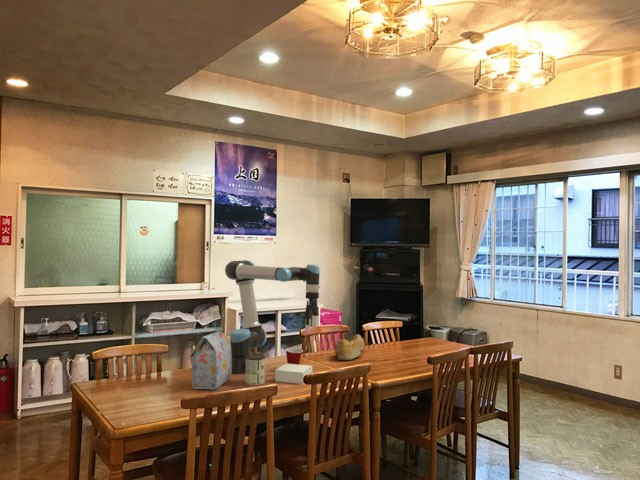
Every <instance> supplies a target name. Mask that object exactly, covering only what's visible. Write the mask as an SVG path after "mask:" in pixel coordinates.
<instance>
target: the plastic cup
mask: <svg viewBox="0 0 640 480" xmlns="http://www.w3.org/2000/svg"><path fill="white" fill-rule="evenodd" d="M284 350H285V355H286V361H287V362H286V364H297V365H301V364H300V362H301V358H302V354H303V352H304V350H303V349H301V348H296V347H288V348H287V347H286V348H285V349H284Z"/></svg>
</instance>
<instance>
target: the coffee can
mask: <svg viewBox="0 0 640 480" xmlns="http://www.w3.org/2000/svg"><path fill="white" fill-rule="evenodd" d="M265 365H266V355H265V354H262V353H250V355H246V373H245V383H244V384H246V385H249V386H258V385H263V384H265V383H266V381H265V377H266V376H265V372H266V371H265V369H266V368H265V367H266V366H265Z"/></svg>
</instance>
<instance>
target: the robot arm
mask: <svg viewBox="0 0 640 480" xmlns="http://www.w3.org/2000/svg"><path fill="white" fill-rule="evenodd" d="M320 271H321V269H320V265H319V264H307V265H306V267H300V266H297V267H296V266H292V267H291V266H290V267H277V266H262V265H255V263H254V262H253V261H251V260H246V259H245V260H231V261H230V262H228V263H227V264H226V265H225V268H224V272H225V276H226V277H227V278H228V279H229V280H232V281H235V284H236V285H237V286H238V288H239V290H238V291H239V295H240V301H241V308H242V309H241V310H242V316H243V317H242V318H243V323H244V325H243V326H242V328H238V329H234V330H232V331H231V332H230V334H229V335H230V336H229V340H230V343H231V354H232V374H246V355H250V354H251V350H255V349H259V348H260V347H263V346H264V345H265V343H266V342H267V337H268V336H267V332H266V330H265V329H264V328H263V327H262V324H261V323H260V322H259V317H258V311H257V302H256V297H255V295H256V294H255V290H254V283H255V280H268V281H278V282H281V283H282V282H283V283H286V282H294V281H304V282H306V283H305V299H308V300H307V301H306V304H305V305H306V306H305V312H304V317H303V319H304V320H305V327H304V330H305V331H306V332H310V331H311V327H312V328H317V327H318V316H319V309H318V308H319V307H318V305H319V304H318V299H319V298H320V293H319V292H320V288H321V287H320V273H321V272H320ZM311 316H312V317H311ZM311 318H312V319H311Z"/></svg>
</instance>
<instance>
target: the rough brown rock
mask: <svg viewBox="0 0 640 480" xmlns="http://www.w3.org/2000/svg"><path fill="white" fill-rule="evenodd" d="M364 340H365V339H364V338H363V337H362V336H361V334H358V333H357V334H356V335H354V336H352V337H351V338H350V339H349V340H347V339H345V338H343V339H339V340H337V341H336V344H335V348H334V353H335V357H336V358H337V360H339V361H351V360H354V359H356V358H359V357H361V355H362V352H364V350H366V344H365V341H364Z"/></svg>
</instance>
